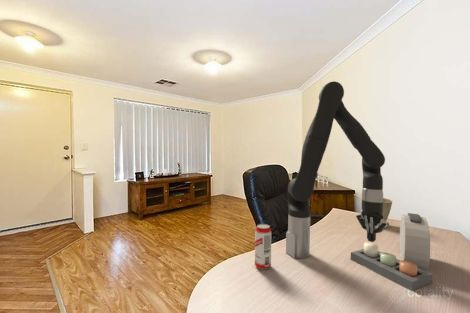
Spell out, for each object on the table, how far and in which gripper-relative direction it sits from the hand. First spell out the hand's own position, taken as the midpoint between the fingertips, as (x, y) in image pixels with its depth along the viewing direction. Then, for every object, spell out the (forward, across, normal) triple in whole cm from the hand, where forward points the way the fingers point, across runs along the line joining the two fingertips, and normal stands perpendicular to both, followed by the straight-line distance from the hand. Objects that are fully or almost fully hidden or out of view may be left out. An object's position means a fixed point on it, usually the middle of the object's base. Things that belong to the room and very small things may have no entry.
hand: (371, 241), depth 93 cm
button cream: (+6, 0, 0) cm, 6 cm away
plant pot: (+9, -29, +47) cm, 56 cm away
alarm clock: (+9, +7, +16) cm, 19 cm away
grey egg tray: (+8, +7, 0) cm, 11 cm away
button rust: (+7, +14, 0) cm, 16 cm away
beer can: (+8, -14, -43) cm, 46 cm away
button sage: (+7, +7, 0) cm, 10 cm away
